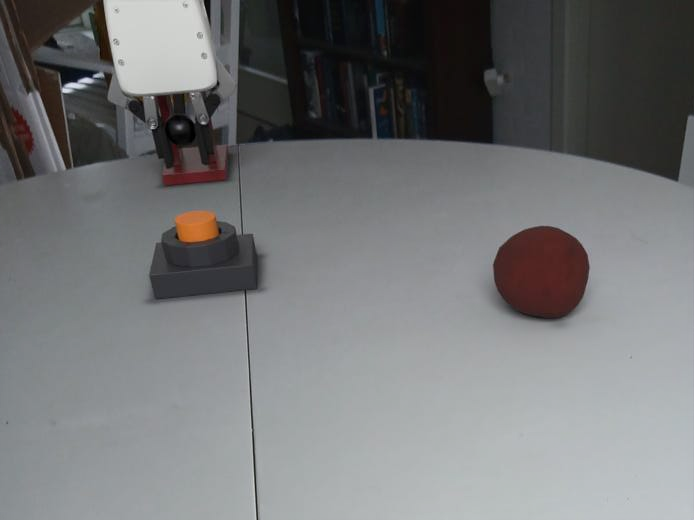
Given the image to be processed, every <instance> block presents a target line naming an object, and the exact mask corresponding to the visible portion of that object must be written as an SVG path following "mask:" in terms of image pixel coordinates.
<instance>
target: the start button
mask: <svg viewBox="0 0 694 520" xmlns="http://www.w3.org/2000/svg"><path fill="white" fill-rule="evenodd" d="M217 221H218V220H217V217H216V213H214V212H212V211H210V210H192V211H188V212H183V213H180V214H179V215H177V216H176V217H175V218H174V225H175V226H176V230H177V234H178V238H179V241H184V242H196V241H205V240H208V239H212V238H215V237H216V236H218V235H219V230H218V226H217Z"/></svg>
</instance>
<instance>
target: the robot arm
mask: <svg viewBox="0 0 694 520" xmlns="http://www.w3.org/2000/svg"><path fill="white" fill-rule="evenodd" d="M102 2H103V8H104V16H105V17H104V18H105V24H106V29H107V35H108V41H109V46H110V51H111V57H112V61H113V66H114V68H113V72H112V75H111V80H110V83H109V88H108V92H107V97H106V98H107V100H108V102H110V103H111V104H113V105H115V106H118V107H120V108H122V109H124V110H127V111H129V112H130V113H132V115H134V116H135V117H136V118H138V119H139V120H140V121H142V122H143V123H144V124H145V125H146V126H147V128H148V129H150V130H151V135H152V138H153V142H154V147H155V151H156V155H157V158H158V159H159V160H163V161H164V165H166V169H171V168H172V167H173V165H174V161H175V159H174V154H173V150H172V146H171V141H170V140H169V138H168V137H167V134H166V131H165V124H166V123H164V121H163V119H162V117H161V114H160V109H159V105H158V97H157V96H159V95H170V96H172V95H173V94H183V93H184V94H188V95H189V98H190V102H191V105H192V107H193V110H194V113H195V114H194V115H195V116H194V124H195V126H194V129H195V134H196V137H195V139H196V143H197V147H198V148H199V152H200V157H201V162H202V164H204V165H209V162H210V155H209V154H214V146H213V141H212V136H211V131H210V126H209V120H210V118H211V119H212V117H213V116H214V114H215V112H216V110H217V109H218V108H219V106H220V105H221V104H222V102H224V101H226V100H227V99H228V98H230V97H231V96H232V95H234V94H235V93H236V92H237V83H236V81H235V80H234V78H233V77H232V76H231V74H230V73H229V71H228V70H227V69H226V67H225V66H224V65H223V63H222V61H220V59H219V57H218V56H217V52H216V47H215V43H214V38H213V34H212V30H211V26H210V22H209V17H208V14H207V10H206V7H205V3H204V0H103V1H102ZM217 83H218V84H219V85H217ZM215 87H216V88H215ZM213 88H215V89H213ZM212 89H213V90H212ZM210 90H211V91H210ZM203 91H206V92H207V91H210V93H208V95H207V98H205V95H204V92H203ZM140 97H141V98H142V100H141V99H140Z"/></svg>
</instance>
